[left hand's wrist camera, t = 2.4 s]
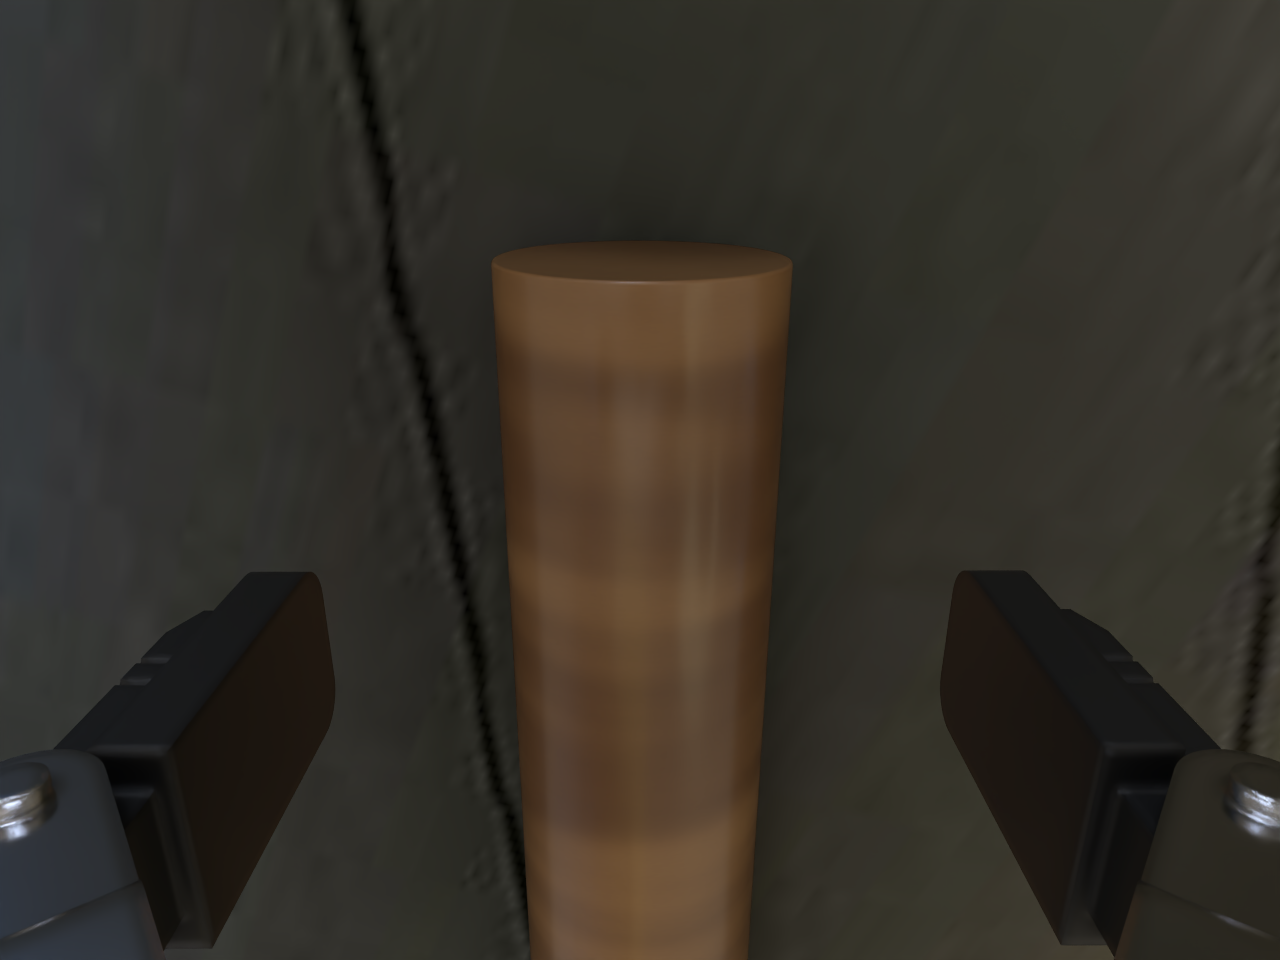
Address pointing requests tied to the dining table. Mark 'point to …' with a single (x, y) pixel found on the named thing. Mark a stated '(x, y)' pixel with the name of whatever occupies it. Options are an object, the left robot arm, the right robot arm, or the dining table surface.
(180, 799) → the left robot arm
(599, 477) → the rod
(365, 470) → the dining table surface
